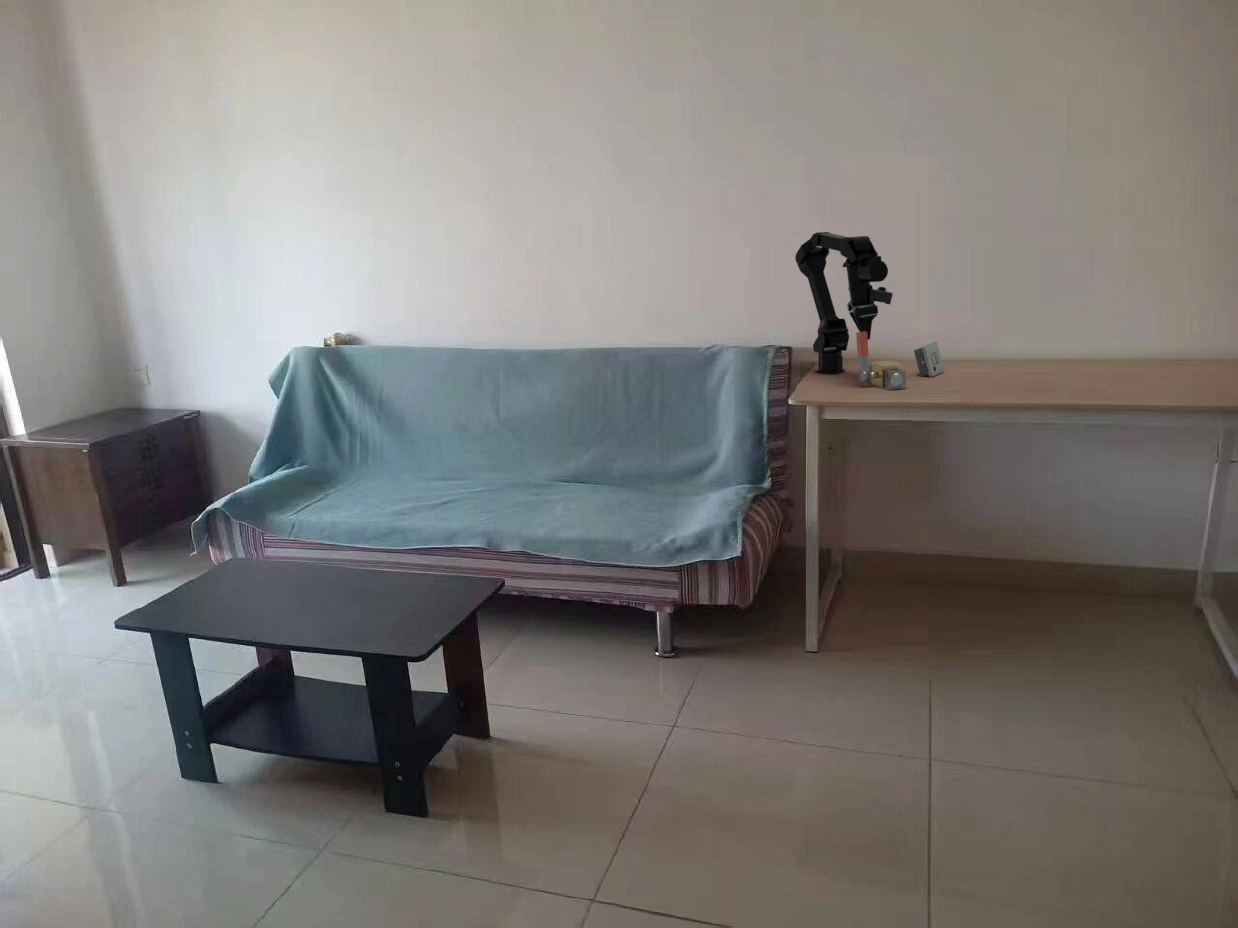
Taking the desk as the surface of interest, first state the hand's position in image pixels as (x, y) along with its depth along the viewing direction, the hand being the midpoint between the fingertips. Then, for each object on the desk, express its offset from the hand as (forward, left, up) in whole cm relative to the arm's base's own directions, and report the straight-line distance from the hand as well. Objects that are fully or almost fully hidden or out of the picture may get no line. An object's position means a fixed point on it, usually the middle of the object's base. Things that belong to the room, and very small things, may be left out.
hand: (865, 337), depth 270 cm
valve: (+10, -5, -12) cm, 16 cm away
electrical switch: (+11, +15, -12) cm, 22 cm away
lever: (+7, -10, -10) cm, 16 cm away
